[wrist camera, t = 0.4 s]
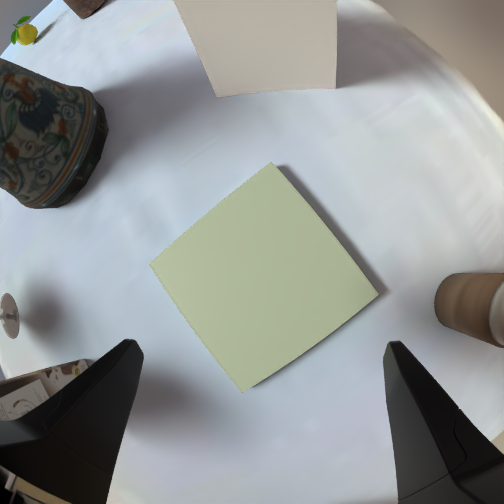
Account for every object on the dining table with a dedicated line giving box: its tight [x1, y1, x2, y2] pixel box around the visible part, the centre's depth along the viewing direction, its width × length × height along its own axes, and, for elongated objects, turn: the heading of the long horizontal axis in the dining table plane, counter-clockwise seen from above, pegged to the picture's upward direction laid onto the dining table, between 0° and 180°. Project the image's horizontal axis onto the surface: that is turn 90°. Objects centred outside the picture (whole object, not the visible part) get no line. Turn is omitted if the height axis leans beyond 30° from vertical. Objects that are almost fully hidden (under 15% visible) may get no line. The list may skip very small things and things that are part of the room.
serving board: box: [149, 162, 379, 392], centre depth 23 cm, size 14×14×1 cm
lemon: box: [11, 16, 38, 45], centre depth 33 cm, size 7×6×10 cm
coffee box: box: [0, 359, 88, 420], centre depth 19 cm, size 9×6×16 cm
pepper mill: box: [434, 273, 504, 348], centre depth 16 cm, size 5×5×10 cm
